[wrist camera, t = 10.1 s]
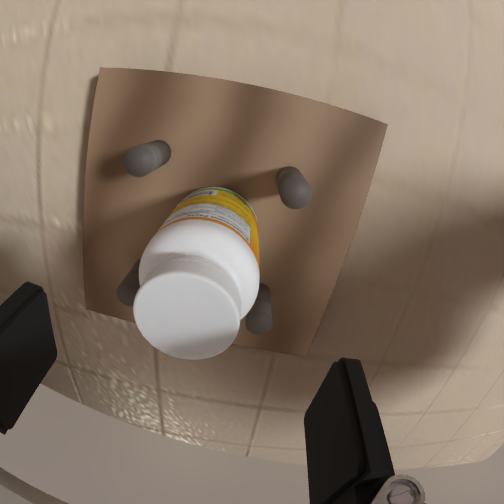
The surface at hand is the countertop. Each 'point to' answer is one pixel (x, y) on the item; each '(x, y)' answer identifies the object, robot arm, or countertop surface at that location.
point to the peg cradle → (229, 177)
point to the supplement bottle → (199, 275)
